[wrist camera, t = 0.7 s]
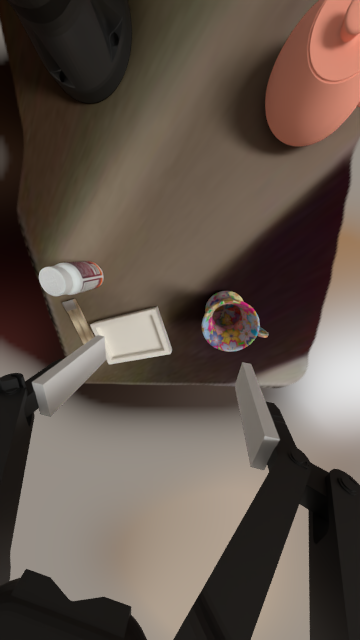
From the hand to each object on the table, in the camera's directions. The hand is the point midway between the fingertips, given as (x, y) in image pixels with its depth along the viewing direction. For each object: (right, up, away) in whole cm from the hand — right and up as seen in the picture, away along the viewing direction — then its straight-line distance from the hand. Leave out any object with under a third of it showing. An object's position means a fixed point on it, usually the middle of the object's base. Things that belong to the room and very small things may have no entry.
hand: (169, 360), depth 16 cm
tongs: (-25, +1, +30) cm, 39 cm away
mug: (+12, +6, +22) cm, 26 cm away
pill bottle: (-20, +15, +24) cm, 34 cm away
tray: (-11, 0, +28) cm, 30 cm away
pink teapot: (+20, +36, +9) cm, 42 cm away
